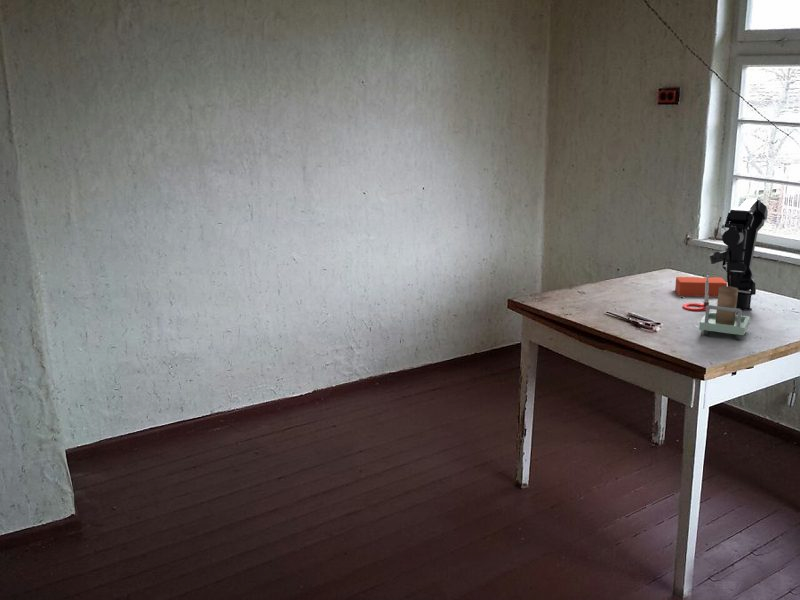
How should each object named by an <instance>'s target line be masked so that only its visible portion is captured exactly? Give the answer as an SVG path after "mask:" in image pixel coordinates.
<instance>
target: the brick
mask: <svg viewBox="0 0 800 600" xmlns="http://www.w3.org/2000/svg"><path fill="white" fill-rule="evenodd" d="M705 281H706V277H699V276H676V278H675V286H674V287H675V288H674V290H675V292H676V294H677V295H678V296H679V297H704V296H705ZM708 281H709V290H708V296H709V297H714V296H718V292H719V287H721V286H728V284H727V280H725V279H723V277H719V276H717V277H714V276H713V277H710V276H708Z"/></svg>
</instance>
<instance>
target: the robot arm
mask: <svg viewBox="0 0 800 600" xmlns="http://www.w3.org/2000/svg"><path fill="white" fill-rule="evenodd" d="M768 213H769V212H768V208H767V205H765V204H764V203H763V202H761V199H760V198H758V197H745V198H744V201H743V203H741V204H740V206H739V207H733V208H731V209H730V211H728V213H727V216H726V219H725V223H724V226H723V228H726V229H727V230H726V231H724V233H723V234H722V236H721V240H722V242H723V244H724V245H725V246H726V247H725V249H724V250H722V251H719V250H718V251H713V253H710V254H708V258H709V261H710V264H711V265H715V264H717V263H720V262H721V266H722V268H723V270H725V272H726V274H725V275H726V282H727V286H730V287H735V288H738V296H737V304H736V308H737V309H740V310H742V311H753V308H752V307H751V302H752V296H754V295H756V292H757V283H756V281H755V279H754V277H755V276H754V273H753V271H752V269H751V268H752V264H753V260H754V259H753V257H754V253H755V248H756V243H757V238H758V232H759V231H760V230H761V228H763V227H764V225H765V221H767V219H768Z"/></svg>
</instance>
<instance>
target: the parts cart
mask: <svg viewBox="0 0 800 600" xmlns="http://www.w3.org/2000/svg"><path fill="white" fill-rule="evenodd" d="M710 310H716V311H717V310H723V311H732V312H736V313H737V314H735V322H734V325H727V324H719V323H715V321H716V312H715V311H710ZM742 314H743V310H740V309H737V308H729V307H720V306H717V305H710V304H709V305H707V306H706V310H705V314H704V315H703V317H702V318H701V320H700V321H699V326H698V327H699V328H698V329H699V330H702V335H703V336H708V333H709V332H715V333H716V332H717V333H723V334H730V335H731V334H732V335H735V340H737V341H740V340H741V336H745V333H746V331H747V330H748V327H749V325H750V320H751V316H747V315H742Z"/></svg>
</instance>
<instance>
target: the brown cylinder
mask: <svg viewBox="0 0 800 600" xmlns="http://www.w3.org/2000/svg"><path fill="white" fill-rule="evenodd" d="M737 296H738V288H735V287H730V286H728V285H727V286H721V287H719V292H718V297H717V303H716V306H720V307H729V308H736V304H737ZM736 313H737V312H732V311H723V310H716V321H715V323H719V324H727V325H734V322H735V315H736Z"/></svg>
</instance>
